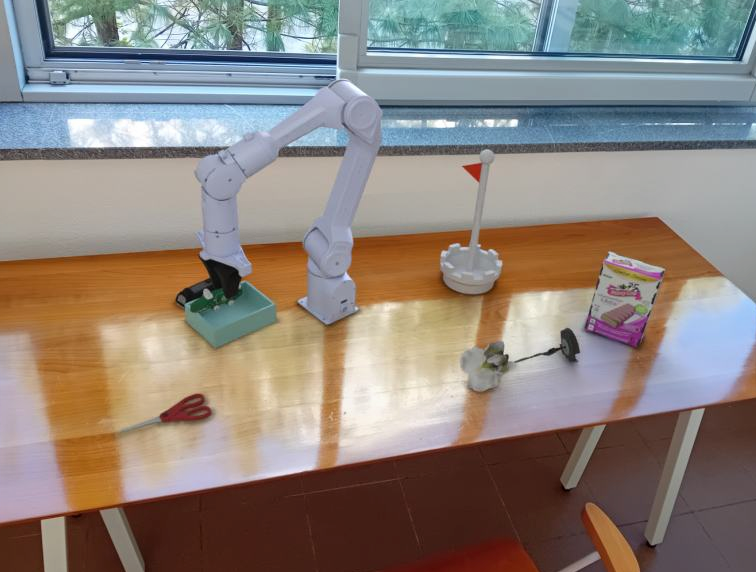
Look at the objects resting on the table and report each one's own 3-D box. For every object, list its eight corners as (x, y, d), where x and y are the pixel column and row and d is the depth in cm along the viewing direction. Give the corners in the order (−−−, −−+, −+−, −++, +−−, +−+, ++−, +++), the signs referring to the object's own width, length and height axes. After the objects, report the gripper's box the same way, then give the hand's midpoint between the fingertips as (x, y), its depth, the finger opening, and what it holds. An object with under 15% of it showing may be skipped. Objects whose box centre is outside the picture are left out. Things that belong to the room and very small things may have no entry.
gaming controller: (198, 324, 129) (204, 304, 125) (187, 308, 131) (193, 288, 127) (243, 308, 135) (250, 288, 131) (232, 293, 137) (239, 272, 133)
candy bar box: (583, 331, 145) (601, 261, 136) (589, 318, 149) (607, 249, 140) (639, 350, 141) (661, 279, 133) (644, 336, 145) (666, 267, 137)
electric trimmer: (250, 280, 149) (250, 266, 147) (186, 310, 138) (185, 296, 136) (238, 272, 151) (238, 259, 149) (174, 302, 140) (172, 288, 138)
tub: (276, 321, 138) (276, 304, 136) (215, 348, 130) (213, 330, 128) (246, 297, 144) (245, 280, 142) (186, 321, 135) (184, 303, 133)
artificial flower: (583, 378, 134) (595, 348, 127) (467, 406, 129) (473, 375, 122) (563, 339, 140) (574, 308, 132) (452, 364, 135) (457, 333, 127)
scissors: (213, 416, 116) (212, 411, 115) (121, 446, 109) (120, 442, 108) (201, 395, 119) (201, 390, 119) (112, 423, 112) (111, 418, 112)
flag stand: (509, 277, 159) (533, 150, 143) (480, 304, 149) (502, 170, 133) (457, 256, 164) (475, 131, 148) (426, 281, 155) (441, 149, 139)
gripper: (176, 215, 125) (183, 281, 132) (224, 250, 117) (228, 319, 124) (213, 203, 129) (218, 268, 136) (261, 237, 121) (263, 304, 128)
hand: (225, 291), depth 130 cm, fingers closed on gaming controller, 3 cm apart
